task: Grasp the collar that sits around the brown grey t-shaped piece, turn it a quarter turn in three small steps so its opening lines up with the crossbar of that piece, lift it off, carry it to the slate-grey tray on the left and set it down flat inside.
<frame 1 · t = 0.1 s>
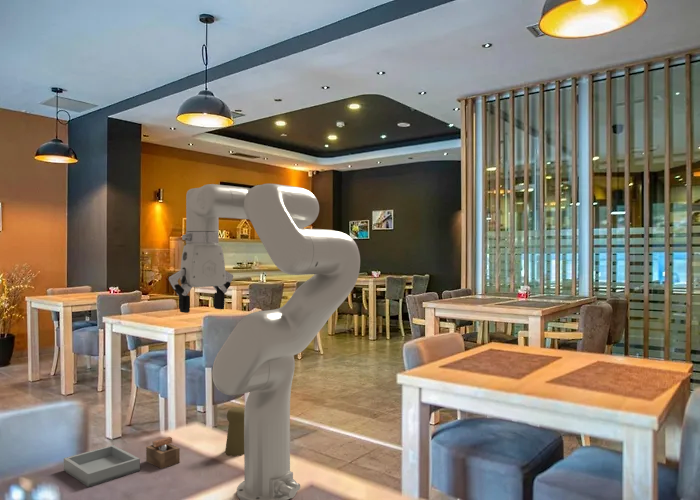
hand: (202, 310, 128), 37 cm above the table, tool pointing down, fingers open, 9 cm apart
tray: (101, 470, 123), on the table
cork: (237, 452, 135), on the table
brown grey t-shaped piece: (162, 461, 128), on the table
collar: (162, 461, 128), on the table
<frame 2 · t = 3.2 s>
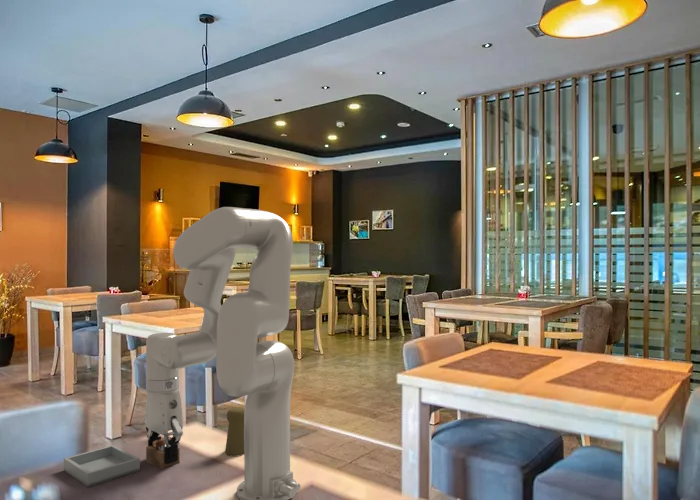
hand: (162, 457, 128), 1 cm above the table, tool pointing down, fingers closed on collar, 7 cm apart
collar: (162, 461, 128), on the table, touching gripper
everything else where it was.
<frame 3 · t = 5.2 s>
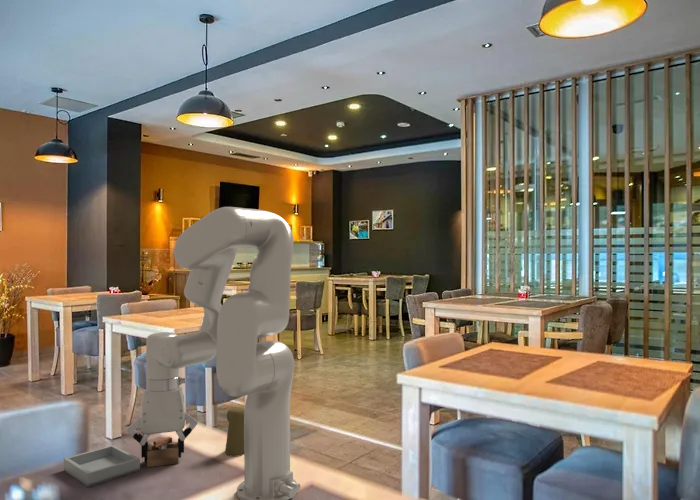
hand: (163, 457, 128), 1 cm above the table, tool pointing down, fingers closed on collar, 7 cm apart
collar: (163, 461, 128), on the table, touching gripper
everything else where it was.
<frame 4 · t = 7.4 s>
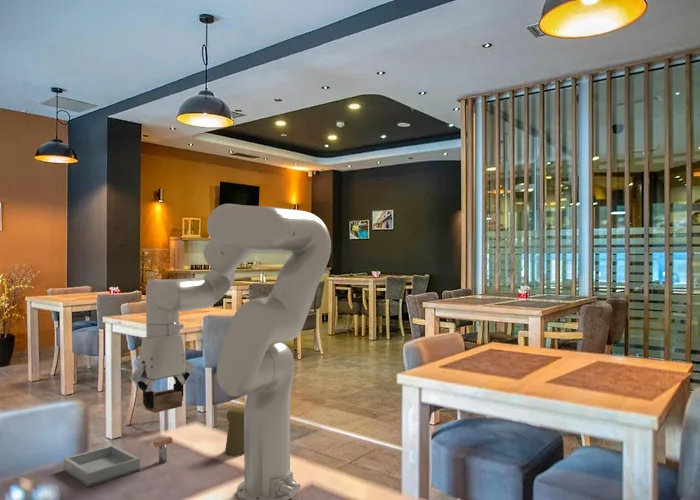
hand: (163, 403, 128), 14 cm above the table, tool pointing down, fingers closed on collar, 7 cm apart
collar: (163, 407, 128), point 13 cm above the table, touching gripper
everything else where it was.
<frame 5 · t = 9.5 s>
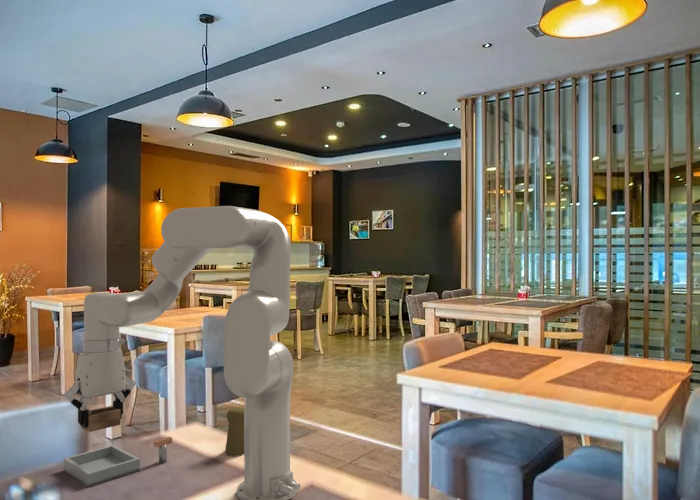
hand: (101, 421, 124), 11 cm above the table, tool pointing down, fingers closed on collar, 7 cm apart
collar: (100, 425, 124), point 10 cm above the table, touching gripper
everything else where it was.
when the fingers open (3 cm above the table, at t = 11.4 s): collar drops 2 cm, resting on tray.
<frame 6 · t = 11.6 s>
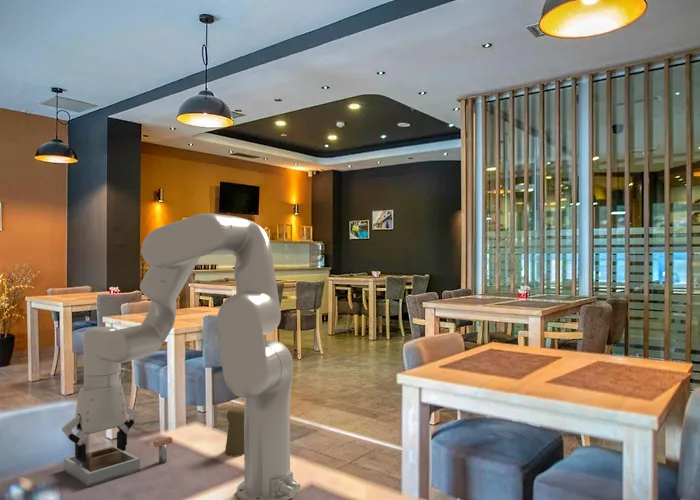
hand: (101, 454, 123), 4 cm above the table, tool pointing down, fingers open, 8 cm apart
collar: (101, 468, 123), point 1 cm above the table, touching tray
everything else where it was.
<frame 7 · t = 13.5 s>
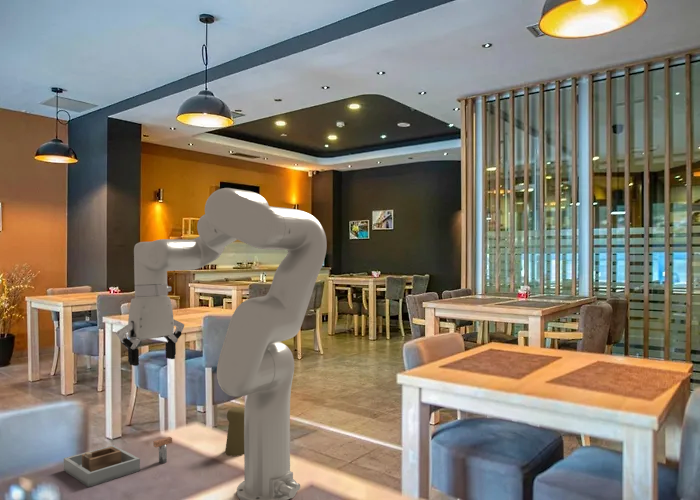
hand: (152, 361, 130), 24 cm above the table, tool pointing down, fingers open, 9 cm apart
nothing on the table moved.
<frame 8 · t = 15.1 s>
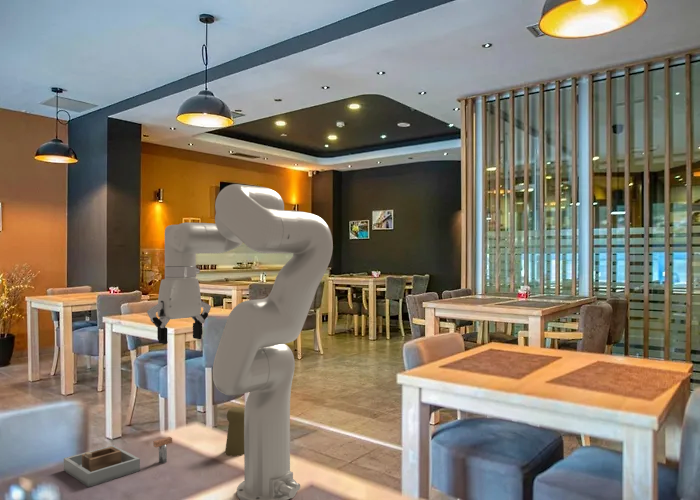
hand: (180, 340, 135), 28 cm above the table, tool pointing down, fingers open, 9 cm apart
nothing on the table moved.
at the end: collar inside the target area on the tray (0.0 cm from its centre), point 0.6 cm above the tray's base; collar tilted 0°; collar touching tray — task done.
